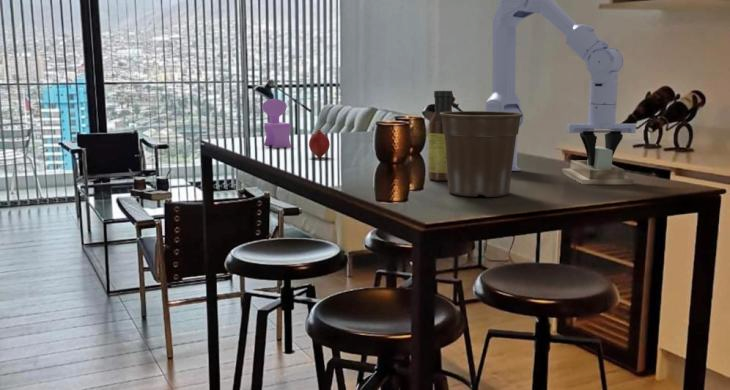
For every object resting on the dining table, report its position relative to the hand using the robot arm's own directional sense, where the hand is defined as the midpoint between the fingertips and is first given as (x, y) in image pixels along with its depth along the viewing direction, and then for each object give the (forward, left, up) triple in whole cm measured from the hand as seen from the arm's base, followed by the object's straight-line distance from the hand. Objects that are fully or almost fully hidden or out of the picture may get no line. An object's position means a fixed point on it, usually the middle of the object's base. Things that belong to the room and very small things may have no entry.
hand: (599, 165), depth 159 cm
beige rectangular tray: (0, +2, -3) cm, 4 cm away
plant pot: (-29, -17, -3) cm, 34 cm away
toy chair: (-82, +68, -3) cm, 107 cm away
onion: (-66, +39, -3) cm, 77 cm away
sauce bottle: (-35, 0, -3) cm, 35 cm away
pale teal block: (0, 0, -2) cm, 2 cm away
